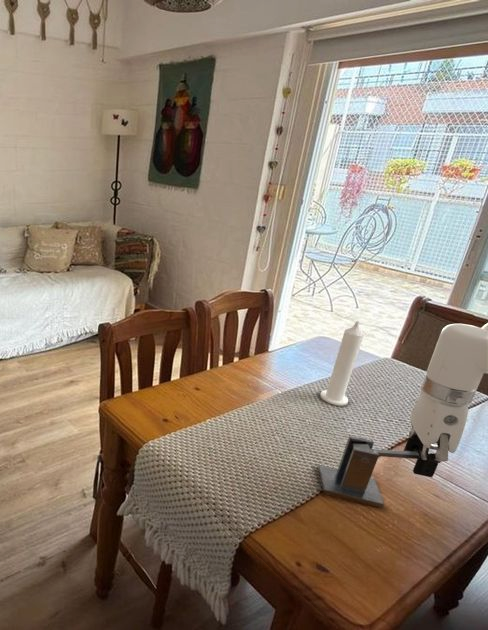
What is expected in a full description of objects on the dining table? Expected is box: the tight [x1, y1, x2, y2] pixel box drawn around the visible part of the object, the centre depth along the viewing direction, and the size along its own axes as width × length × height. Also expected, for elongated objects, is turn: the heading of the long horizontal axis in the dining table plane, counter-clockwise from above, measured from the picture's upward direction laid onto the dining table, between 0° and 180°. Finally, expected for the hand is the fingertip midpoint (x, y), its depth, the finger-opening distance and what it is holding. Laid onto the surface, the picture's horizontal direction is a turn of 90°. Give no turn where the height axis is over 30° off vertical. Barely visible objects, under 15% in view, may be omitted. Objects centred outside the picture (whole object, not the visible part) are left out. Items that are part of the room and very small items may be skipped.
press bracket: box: [317, 435, 385, 509], centre depth 94 cm, size 11×8×12 cm
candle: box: [319, 320, 365, 407], centre depth 123 cm, size 7×7×25 cm
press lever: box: [353, 443, 422, 460], centre depth 91 cm, size 12×5×2 cm, turn 70°
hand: (417, 464), depth 89 cm, fingers closed on press lever, 5 cm apart
